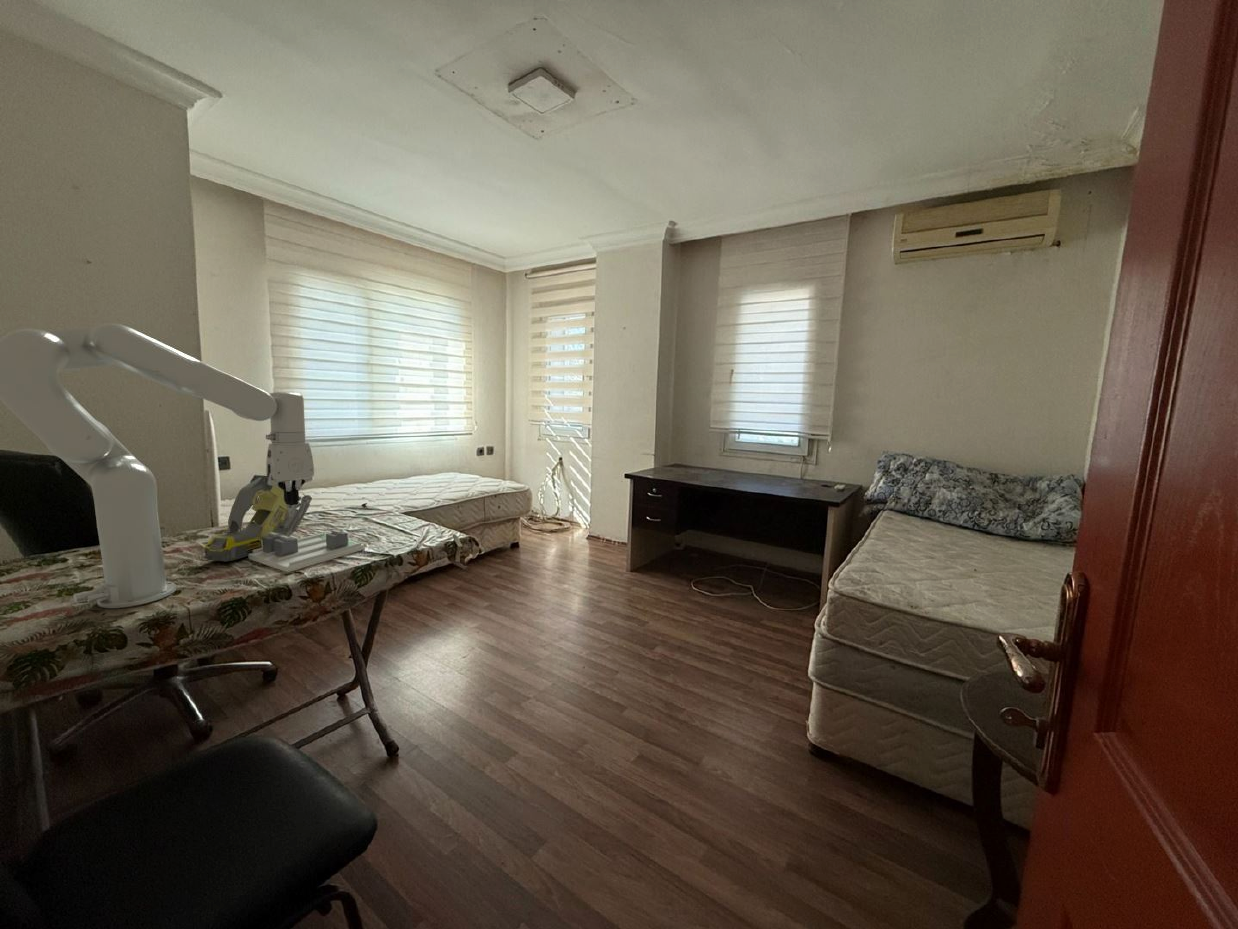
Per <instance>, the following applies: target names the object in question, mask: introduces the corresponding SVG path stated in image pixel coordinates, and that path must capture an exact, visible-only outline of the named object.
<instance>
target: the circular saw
mask: <svg viewBox="0 0 1238 929" xmlns="http://www.w3.org/2000/svg"><path fill="white" fill-rule="evenodd" d="M279 482H280V481H279ZM290 485H291V483H290ZM300 494H302V495H303V496H302V497H301V496H300V495H299V501H298V505H287V504H286V503H285V502H284V490H282V489H281V488H280V487H278V486H271V485H268V478H267V475H262V474H261V475H258V474H254V475H253V477H252V479H251V480H250V482H249V483H248V484H246V485H245V486H244V487H242V488H241V489H240V490H239V491H238V493H237V496H236V498H235V499H234V502H233V504H232V506H231V509H230V512H229V515H228V519H227V525H228V530H227V531H228V532H226V533H221V534H217V535H215V536H213V537H212V538H210V540H209V541H208V542H207V544H206V545H205V547H204V551H205V554H204V555H205V559H206V560H207V561H214V562H215V561H216V562H217V561H219V562H230V561H231V562H232V561H235V560H239V559H242V558H246V557H249V556H248V554H250V553H253V552H252V550H255V549H259V548H263V544H262V536H267V535H268V533H270V532H274V533H279V534H282V535H285V536H288V537H291V535H293V533H295V532H296V531H297V529H298V528H299V526H300V524H301V522H302V520H303V519H304V516H305V515H306V513H307V511H308V509H309V508H310V506H311V501H312V500H313V497H311V495H309V494H306V495H305V493H304V492H300ZM250 509H251V510H253V511H255V512H254V515H253V516H252V518H251V519H250V521H249V522H248V524H247V526H246V527H245V528H243V521H244V518H245V516H246V513H247V512H249V510H250ZM242 528H243V529H242Z"/></svg>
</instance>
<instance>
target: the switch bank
mask: <svg viewBox="0 0 1238 929" xmlns="http://www.w3.org/2000/svg"><path fill="white" fill-rule="evenodd" d="M296 539H297V542H298V552H297V553H293V554H290V555H286V556H282V557H278V556H275V551H274V552H270V553H266V552H263V547H262V548H259V549H255V550H252V552H253V553H250V554H248V556H247V557H248V560H250V561H253V562H257V563H258V564H262V565H265V566H267V567H271V568H274V569H276V570H280V571H282V572H285V573H290V572H293V571H296V570H300V569H304V568H307V567H311V566H313V565H316V564H321V563H323V562H327V561H331V560H333V559H336V558H341V557H344V556H346V555H351V554H353V553H357V552H360V551H361V552H362V551H364V550H365V549H366V548H365V544H364V543H362V542H357V541H352V540H349V538H348V546H345V547H341V548H338V549H334V550H330V549H327V546H326V533H325V532H321V533H317V534H316V533H315V534H314V535H313V534H312V535H309V536H305V537H301V538H296Z"/></svg>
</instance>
